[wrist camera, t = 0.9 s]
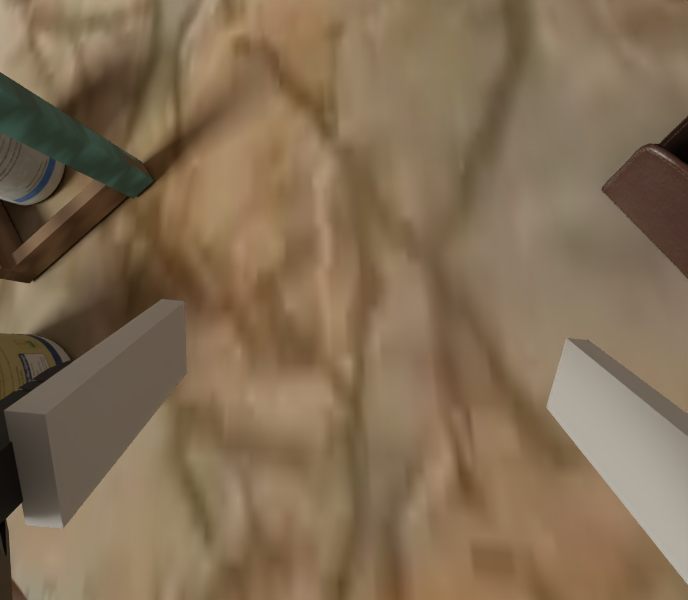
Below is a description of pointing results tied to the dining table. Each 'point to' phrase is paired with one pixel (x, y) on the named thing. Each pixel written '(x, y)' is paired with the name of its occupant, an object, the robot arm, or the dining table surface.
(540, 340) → the dining table surface
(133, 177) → the wooden frame
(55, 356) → the supplement tub
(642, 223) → the letter holder
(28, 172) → the supplement tub
